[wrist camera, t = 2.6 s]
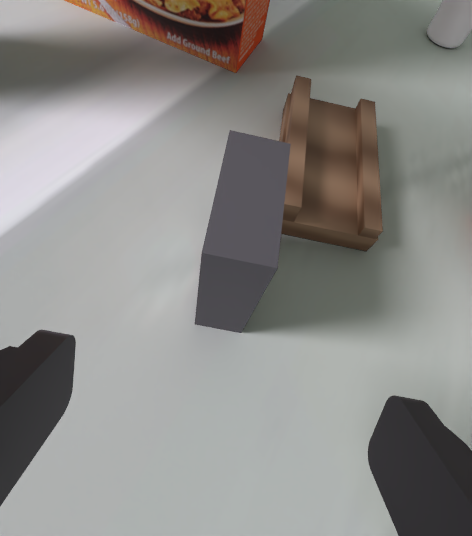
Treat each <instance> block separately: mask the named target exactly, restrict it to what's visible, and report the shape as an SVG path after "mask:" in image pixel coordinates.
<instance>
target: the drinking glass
mask: <svg viewBox="0 0 472 536" xmlns="http://www.w3.org/2000/svg"><path fill="white" fill-rule="evenodd" d="M471 30H472V0H442V2H441V4H440V6H439V8H438V10H437V12H436V14H435V15H434V17H433V19H432V20H431V22H430V24H429V25H428V28H427V35H428V37H429V38H430V39H431V40H432V41H433V42H434V43H436V44H437V45H439V46H442V47H445V48H456V47H458V46H460V45H461V44H462V43H463V42H464V40H465V39H466V37H467V36H468V35H469V33H470V32H471Z"/></svg>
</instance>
